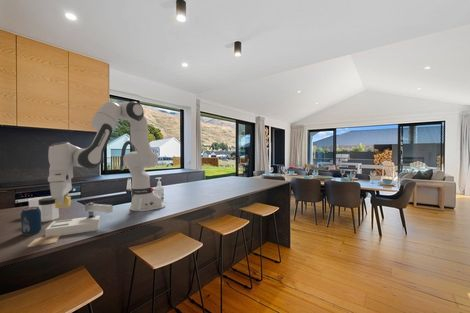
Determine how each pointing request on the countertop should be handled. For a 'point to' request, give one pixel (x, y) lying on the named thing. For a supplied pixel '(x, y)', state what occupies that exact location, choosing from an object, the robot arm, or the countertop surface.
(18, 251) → the countertop surface
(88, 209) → the t key
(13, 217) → the countertop surface
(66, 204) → the snap cover
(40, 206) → the jar
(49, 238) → the cork pad
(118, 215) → the countertop surface
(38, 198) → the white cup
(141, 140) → the robot arm
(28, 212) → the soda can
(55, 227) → the latch box
